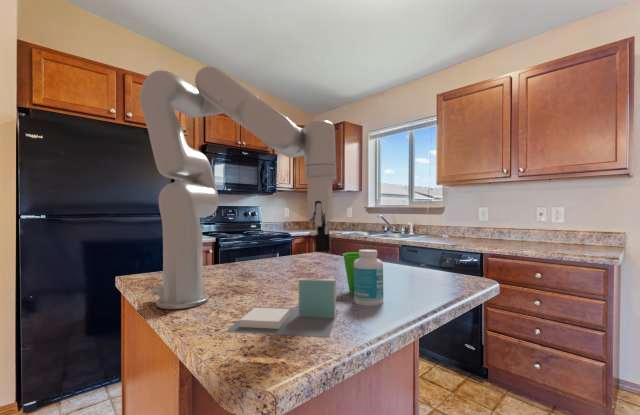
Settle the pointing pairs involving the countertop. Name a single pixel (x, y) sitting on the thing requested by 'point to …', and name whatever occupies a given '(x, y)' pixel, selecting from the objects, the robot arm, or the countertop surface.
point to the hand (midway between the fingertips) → (323, 251)
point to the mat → (293, 326)
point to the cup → (350, 268)
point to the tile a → (265, 318)
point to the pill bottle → (368, 279)
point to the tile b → (317, 297)
